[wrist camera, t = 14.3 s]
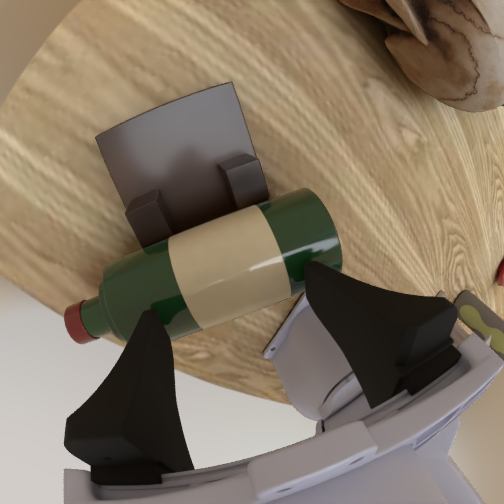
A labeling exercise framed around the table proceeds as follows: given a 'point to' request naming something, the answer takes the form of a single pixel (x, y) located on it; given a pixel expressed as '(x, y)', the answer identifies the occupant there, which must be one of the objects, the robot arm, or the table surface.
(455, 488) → the robot arm
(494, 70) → the skull
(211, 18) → the table surface
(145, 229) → the wine rack
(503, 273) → the liquor
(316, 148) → the table surface
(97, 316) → the wine bottle
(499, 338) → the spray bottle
